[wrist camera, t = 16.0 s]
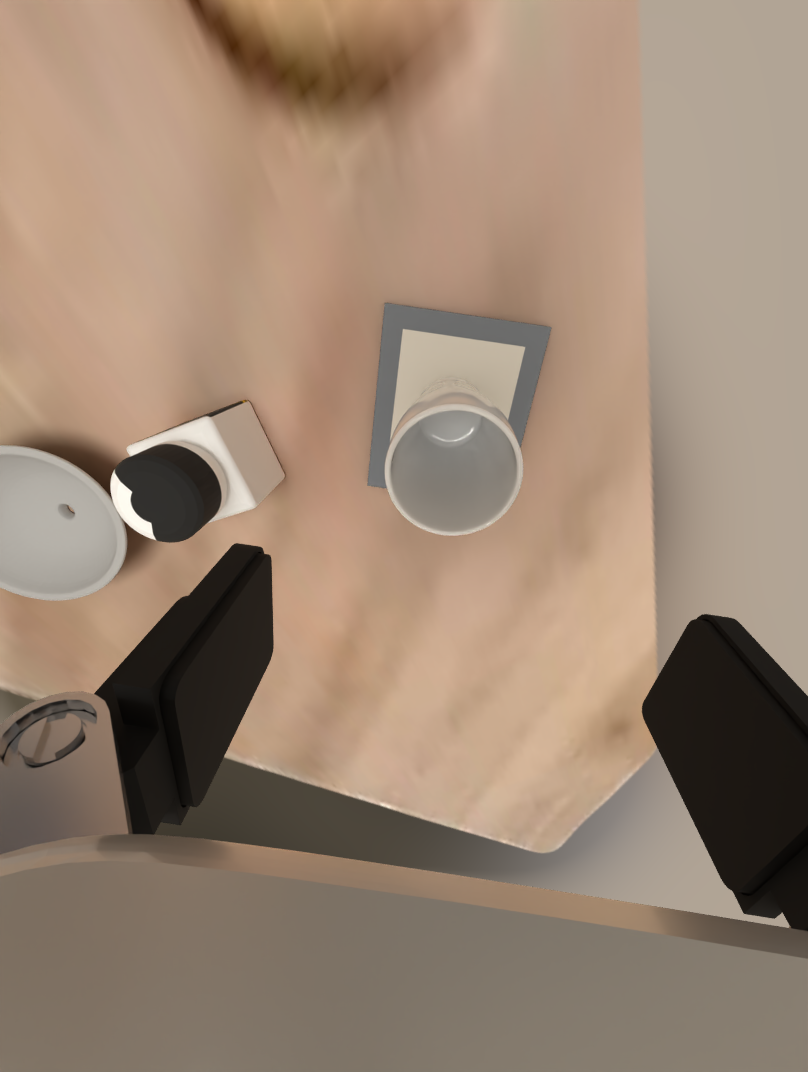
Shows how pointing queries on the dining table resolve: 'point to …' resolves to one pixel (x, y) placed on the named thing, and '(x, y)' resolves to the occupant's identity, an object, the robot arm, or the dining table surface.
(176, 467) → the medicine bottle
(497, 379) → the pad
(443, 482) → the drinking glass
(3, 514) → the dish
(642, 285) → the dining table surface
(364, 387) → the dining table surface
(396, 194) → the dining table surface
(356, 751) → the dining table surface
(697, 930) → the robot arm
